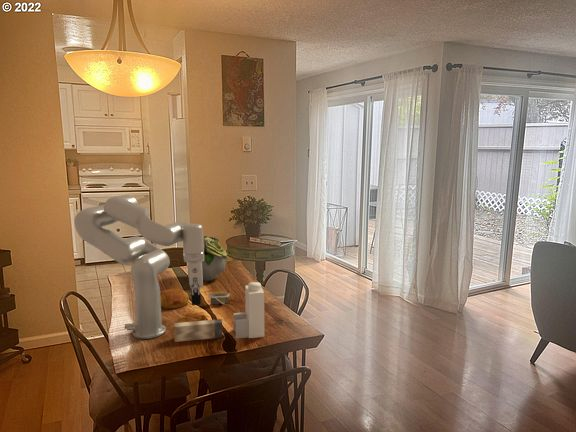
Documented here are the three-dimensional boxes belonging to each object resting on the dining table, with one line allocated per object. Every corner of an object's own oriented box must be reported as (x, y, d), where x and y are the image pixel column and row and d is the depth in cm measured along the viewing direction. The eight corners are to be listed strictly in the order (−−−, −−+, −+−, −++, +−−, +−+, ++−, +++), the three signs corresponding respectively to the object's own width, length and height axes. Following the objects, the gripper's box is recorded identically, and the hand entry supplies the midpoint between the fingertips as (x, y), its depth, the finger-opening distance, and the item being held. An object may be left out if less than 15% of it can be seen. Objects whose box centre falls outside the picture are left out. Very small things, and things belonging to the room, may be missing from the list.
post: (236, 339, 161) (235, 289, 158) (233, 328, 171) (232, 281, 167) (264, 336, 164) (264, 287, 160) (260, 326, 173) (259, 279, 170)
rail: (174, 341, 159) (174, 326, 158) (174, 337, 162) (174, 323, 161) (222, 337, 163) (222, 322, 162) (221, 333, 166) (221, 319, 165)
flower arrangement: (175, 282, 230) (174, 238, 226) (201, 270, 252) (200, 230, 249) (214, 288, 220) (213, 243, 216) (237, 275, 243) (237, 234, 239)
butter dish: (239, 308, 194) (239, 294, 193) (199, 311, 190) (199, 297, 189) (237, 299, 205) (237, 286, 204) (200, 301, 202) (199, 288, 201)
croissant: (155, 305, 202) (152, 290, 200) (187, 297, 207) (184, 281, 206) (159, 315, 188) (155, 299, 187) (193, 306, 194) (190, 290, 193)
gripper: (205, 261, 150) (207, 307, 152) (203, 250, 166) (205, 292, 169) (183, 263, 148) (185, 309, 151) (183, 252, 165) (185, 293, 167)
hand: (196, 300), depth 160 cm, fingers open, 9 cm apart
